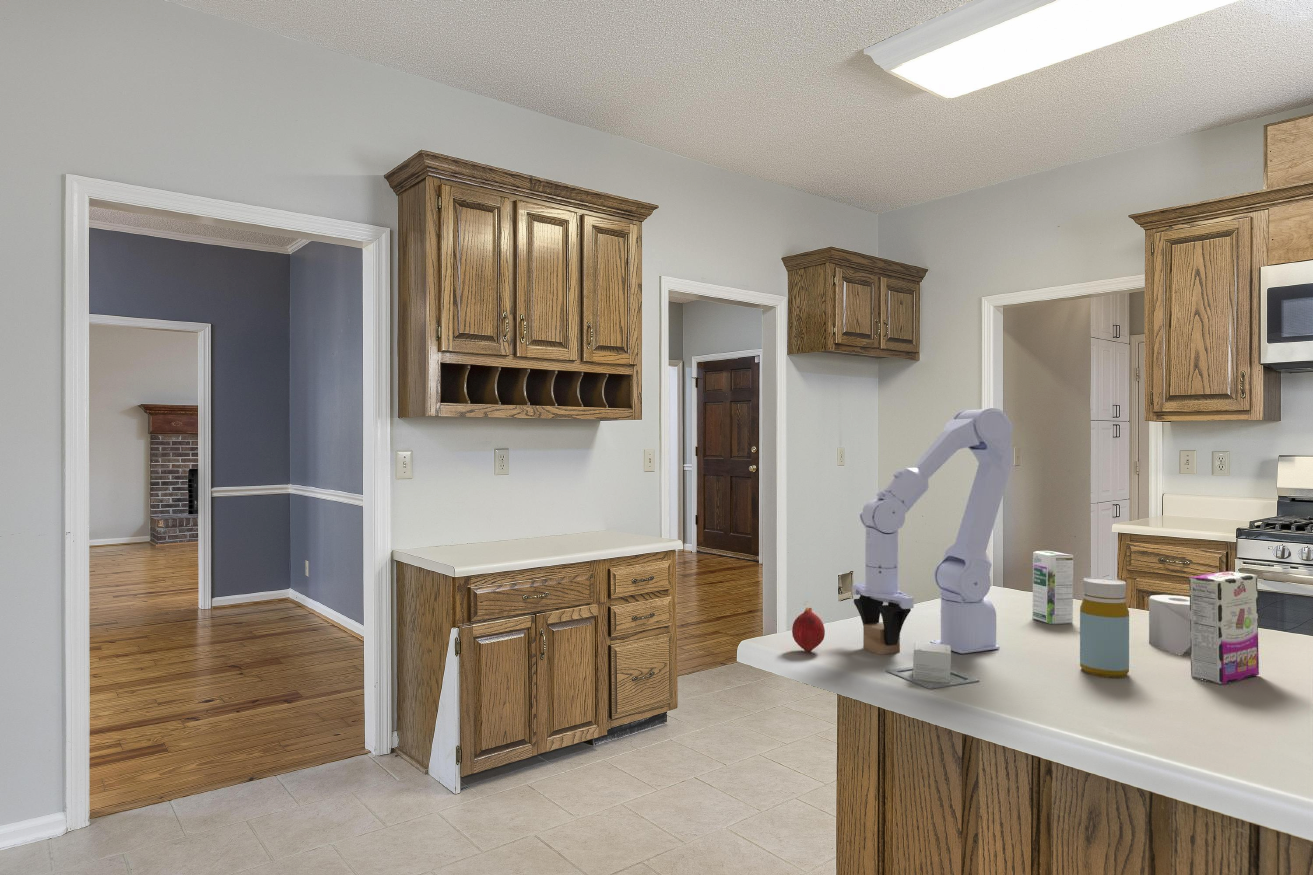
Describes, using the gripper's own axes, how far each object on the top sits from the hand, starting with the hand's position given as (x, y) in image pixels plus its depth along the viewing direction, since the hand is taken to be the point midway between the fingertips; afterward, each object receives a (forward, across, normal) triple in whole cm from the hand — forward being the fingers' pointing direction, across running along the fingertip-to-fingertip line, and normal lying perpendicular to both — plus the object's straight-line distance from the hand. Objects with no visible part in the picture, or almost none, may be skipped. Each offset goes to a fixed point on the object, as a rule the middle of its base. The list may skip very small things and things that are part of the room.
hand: (881, 641), depth 142 cm
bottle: (+2, +25, +25) cm, 35 cm away
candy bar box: (+2, +34, +41) cm, 53 cm away
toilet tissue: (+2, +19, +53) cm, 56 cm away
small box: (+2, +16, -3) cm, 16 cm away
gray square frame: (+2, +16, -3) cm, 16 cm away
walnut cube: (+2, 0, 0) cm, 2 cm away
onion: (+2, -4, -13) cm, 14 cm away
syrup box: (+2, -5, +49) cm, 49 cm away
